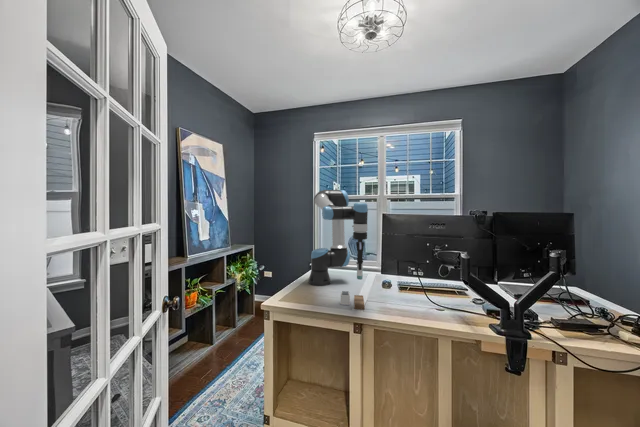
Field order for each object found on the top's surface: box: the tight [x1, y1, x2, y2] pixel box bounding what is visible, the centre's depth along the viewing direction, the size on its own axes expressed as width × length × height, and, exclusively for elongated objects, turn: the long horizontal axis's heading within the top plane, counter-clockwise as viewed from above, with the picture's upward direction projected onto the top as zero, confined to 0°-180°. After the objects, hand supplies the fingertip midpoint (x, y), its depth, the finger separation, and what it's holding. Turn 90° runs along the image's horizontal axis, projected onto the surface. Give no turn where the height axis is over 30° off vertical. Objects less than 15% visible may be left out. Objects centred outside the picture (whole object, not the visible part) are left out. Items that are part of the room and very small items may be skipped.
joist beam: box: [353, 294, 365, 310], centre depth 146 cm, size 14×5×2 cm, turn 174°
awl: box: [356, 265, 364, 280], centre depth 145 cm, size 3×3×8 cm
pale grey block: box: [340, 290, 351, 306], centre depth 148 cm, size 5×5×6 cm
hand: (359, 274), depth 146 cm, fingers closed on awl, 2 cm apart
